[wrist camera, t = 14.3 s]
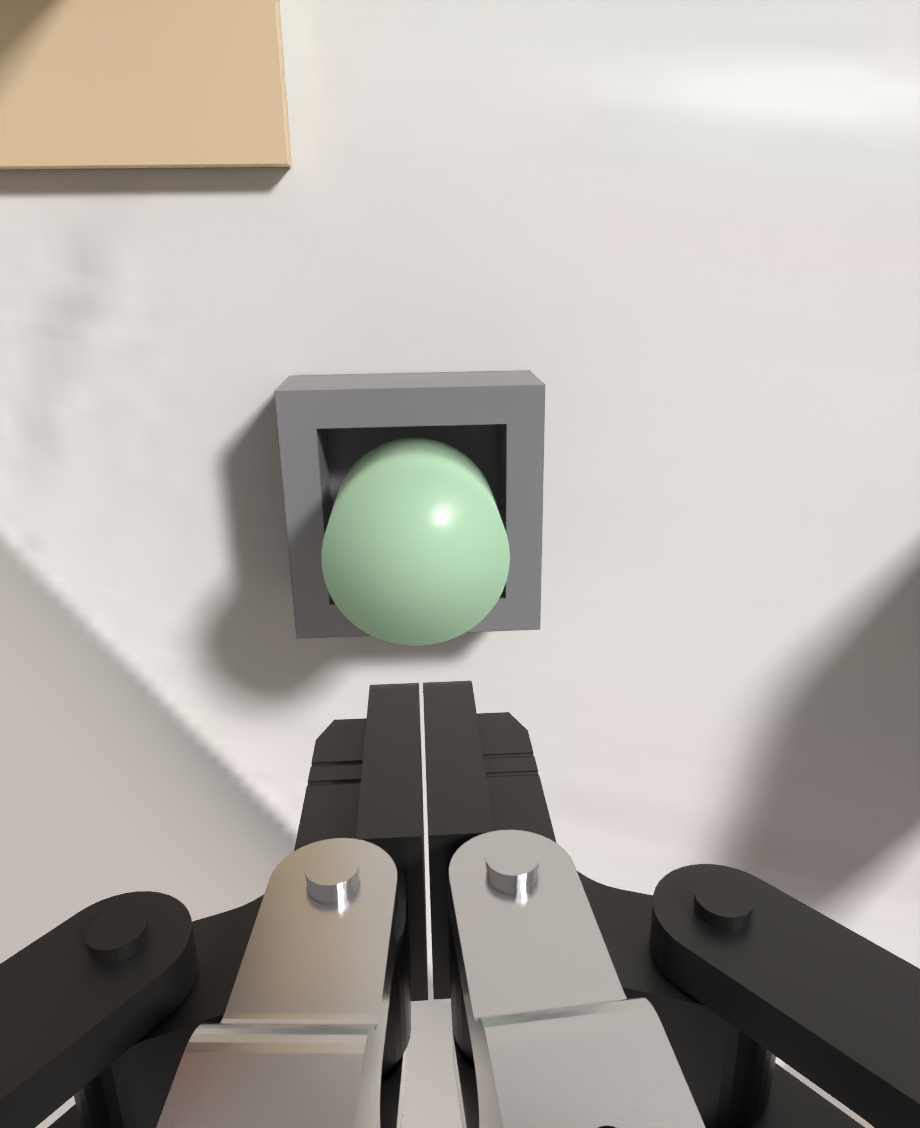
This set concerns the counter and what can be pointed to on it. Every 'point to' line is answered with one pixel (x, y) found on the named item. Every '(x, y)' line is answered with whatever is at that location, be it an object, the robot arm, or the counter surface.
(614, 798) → the counter surface
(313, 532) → the button housing
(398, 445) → the button
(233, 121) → the sketchbook
